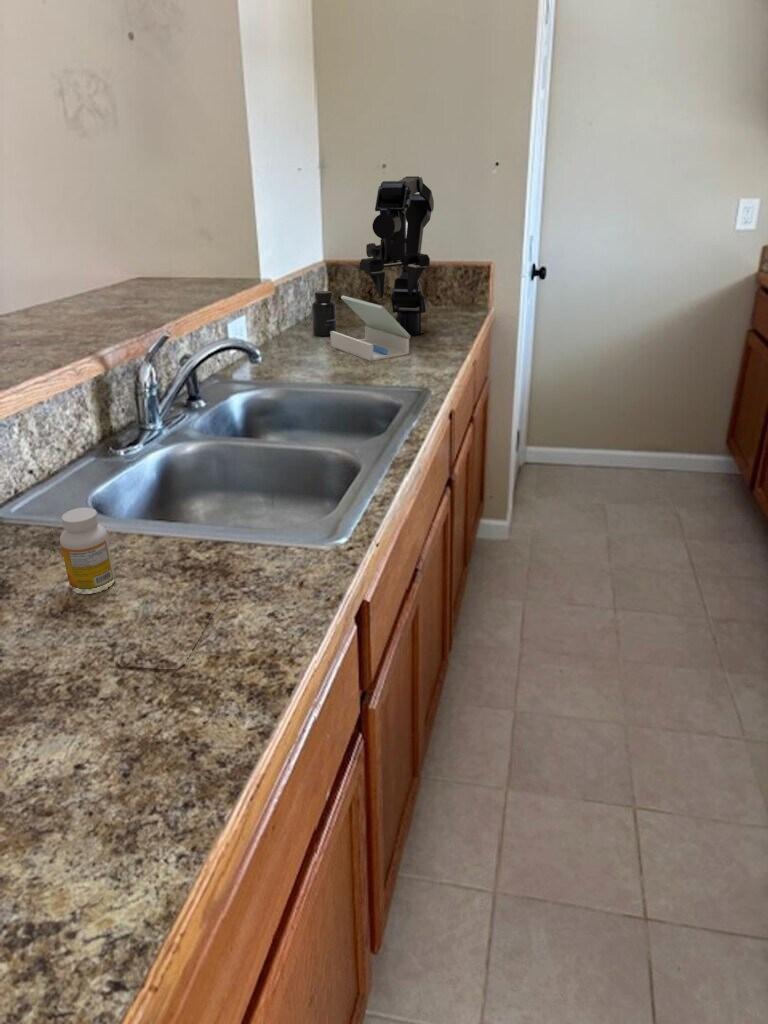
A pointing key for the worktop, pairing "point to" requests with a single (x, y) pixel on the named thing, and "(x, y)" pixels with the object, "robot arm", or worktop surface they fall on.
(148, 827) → the worktop surface
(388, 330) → the duct cover
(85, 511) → the supplement bottle
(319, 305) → the supplement bottle
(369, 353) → the cable duct
